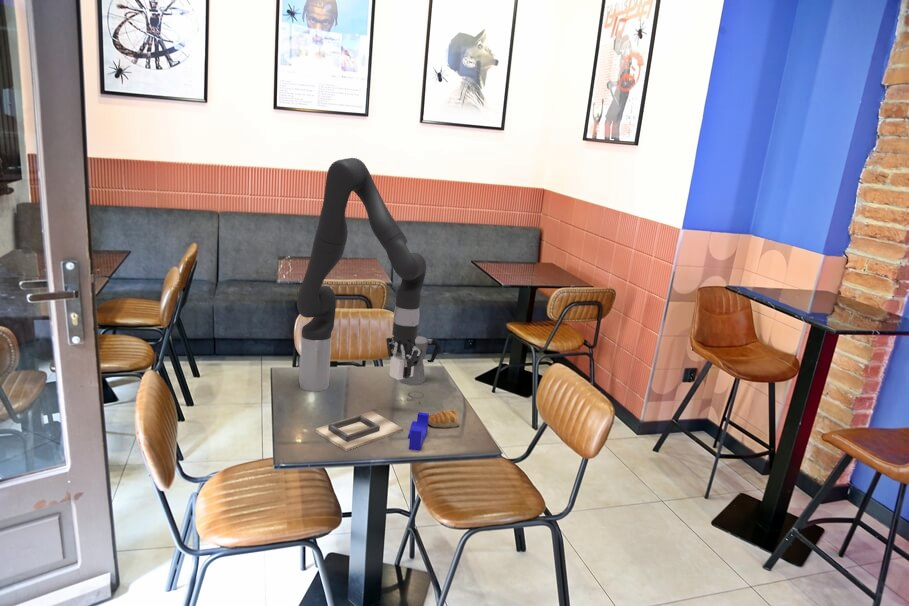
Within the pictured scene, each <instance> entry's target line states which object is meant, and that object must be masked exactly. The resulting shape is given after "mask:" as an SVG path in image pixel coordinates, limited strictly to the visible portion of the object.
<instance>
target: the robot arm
mask: <svg viewBox="0 0 909 606" xmlns="http://www.w3.org/2000/svg"><path fill="white" fill-rule="evenodd" d="M325 178H326V179H325V186H324V193H323V195H324V196H323V201H322V207H321V211H320V216H319V219H318V224H317V227H316V231H315V235H314V239H313V243H312V247H311V248H312V249H311V253H310V257H309V261H308V264H307V268H306V271H305V274H304V277H303V280H302V282H301V284H300V287H299V291H298V294H297V299H296V307H297V312H298V314H300V316H301V317H303V318H312V319H310V321H309V322H307V323H306V324H305V325H303V326H302V328H301V339H300V340H301V341H300V344H301V345H300V356H299V364H298V384H299V387H300V389H301V390H304V391H306V392H323V391H325V390H327V389H328V388H330V373H331V372H330V371H331V349H332V332H333V330H334V327H335V317H336V310H337V307H336V306H337V299H336V294H335V292H334V290H333V289H332V287H330V286H327V285H323V283H324V281H325V279H326V278H327V276H328V275H329V274H330V272H331V271H333V269H334V268H335V267H336V265H337V264H338V263H339V261H340V260H341V258H342V257H343V254H344V252H345V248H346V244H347V239H348V232H349V231H348V225H347V220H346V219H347V218H346V209H347V207H348V206H347V205H348V201H349V198H350V197H351V194H352V192H354V193H355V194H356V196H357V197H358V198H359V200H360V201H361V202H362V205H363V206H364V208H365V211H366V213H367V218H368V222H369V225H370V228H371V230H372V232H373V234H374V236H375V237H376V239H377V240H378V242H379V243H380V245H381V246H382V248H383V249H384V250H385V252H386V254H387V257H388V260H389V261H390V264H391V266H392V268H393V271H394V272H395V273H396V274H397V276H398V277H399V278H400V279H401V283H400V285H399V287H398V288H397V290H396V295H395V307H394V311H393V320H392V321H393V323H392V332H391V333H392V337H391V336H390V337H387V338H386V339H385V341H386V347H387V348H386V349H387V355H388V357H389V358H391V357H393V356H397V355H402V359H404V366H405V367H404V372H403V378H405V379H406V378H409V377H410V375H411V367H413V366H417V364H418V362H419V359H420V356H421V354H422V349H418V348H417V347H416V343H415V339H416V338H417V336H419V335H418V334H419V325H420V324H419V323H420V305H421V304H420V303H421V292H422V288H423V285H424V282H425V277H426V273H427V264H426V262H427V261H426V259H425V257H424V256H423V255H422V254H420V253H418V252H412V253H411V251H410V250H409V247H407V242H408V240H407V237H406V235H405V233H404V232H403V230H402V229H401V228H400V227H399V225H398V223H397V222H396V220H395V219H394V217H393V216H392V215H391V212H390V211H389V210H388V207H387V206H386V203H385V202H384V199H383V198H382V196H381V194H380V192H379V190H378V188H377V186H376V184H375V181H374V179H373V178H372V175H371V174H370V171H369V170H368V168H367V166H366V164H365V163H364V162H363V161H362V160H360V159H359V158H357V157H349V158H342V159H338V160H336V161H334V162H333V163H331V165H330V166H329V168H328V170H327V173H326V177H325ZM408 354H409V356H406V355H408ZM408 359H409V362H408Z"/></svg>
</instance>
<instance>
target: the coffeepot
mask: <svg viewBox="0 0 909 606" xmlns="http://www.w3.org/2000/svg"><path fill="white" fill-rule="evenodd" d="M415 343H416V347H417V348H418V349H422V354H421V356H420V359H419V362H418V364H417V366H414V370H413V376H412V377H409V378H406V379H405V378H404V379H401V380H398V381H399V382H400V383H401V384H404V385H408V386H417V385H419V386H420V385H423V383H424V382H426V375H425V366H424V363H423V361H424V360H425V358H426V353H427V349H428V347H429V346H435V347H434V348H433V353H432V354H431V358H430V359H427V360H426V361H427V363H433V362H435V359H436V357H437V356H438V353H439V351H440V349H441V344H440V342H439V341H438V340H437V339H433V338H432V339H431V338H427V337H425V336H422V335H418V336H417V338H416V339H415ZM408 355H409V354H408Z"/></svg>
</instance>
